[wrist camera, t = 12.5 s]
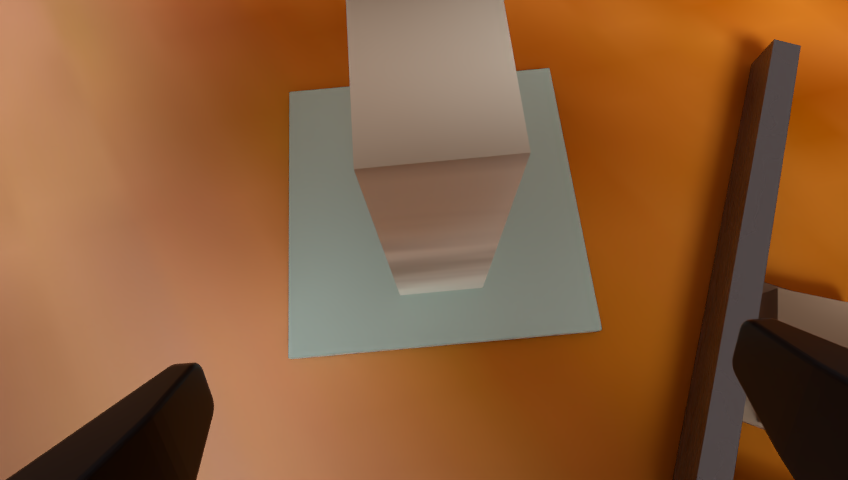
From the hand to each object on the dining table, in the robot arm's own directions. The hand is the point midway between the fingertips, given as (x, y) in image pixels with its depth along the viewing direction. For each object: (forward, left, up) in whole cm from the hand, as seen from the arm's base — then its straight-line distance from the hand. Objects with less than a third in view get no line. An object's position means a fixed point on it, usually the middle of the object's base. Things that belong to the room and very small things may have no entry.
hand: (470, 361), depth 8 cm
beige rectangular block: (+5, +5, -9) cm, 11 cm away
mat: (+5, +5, -9) cm, 12 cm away
